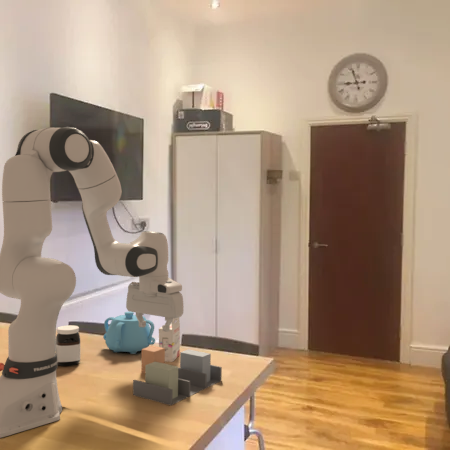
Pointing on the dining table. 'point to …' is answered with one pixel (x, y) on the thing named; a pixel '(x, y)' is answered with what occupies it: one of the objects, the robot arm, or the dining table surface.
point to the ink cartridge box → (170, 341)
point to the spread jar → (68, 345)
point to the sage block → (162, 376)
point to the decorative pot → (128, 333)
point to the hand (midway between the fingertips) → (154, 329)
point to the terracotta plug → (152, 356)
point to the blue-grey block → (196, 361)
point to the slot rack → (187, 386)
